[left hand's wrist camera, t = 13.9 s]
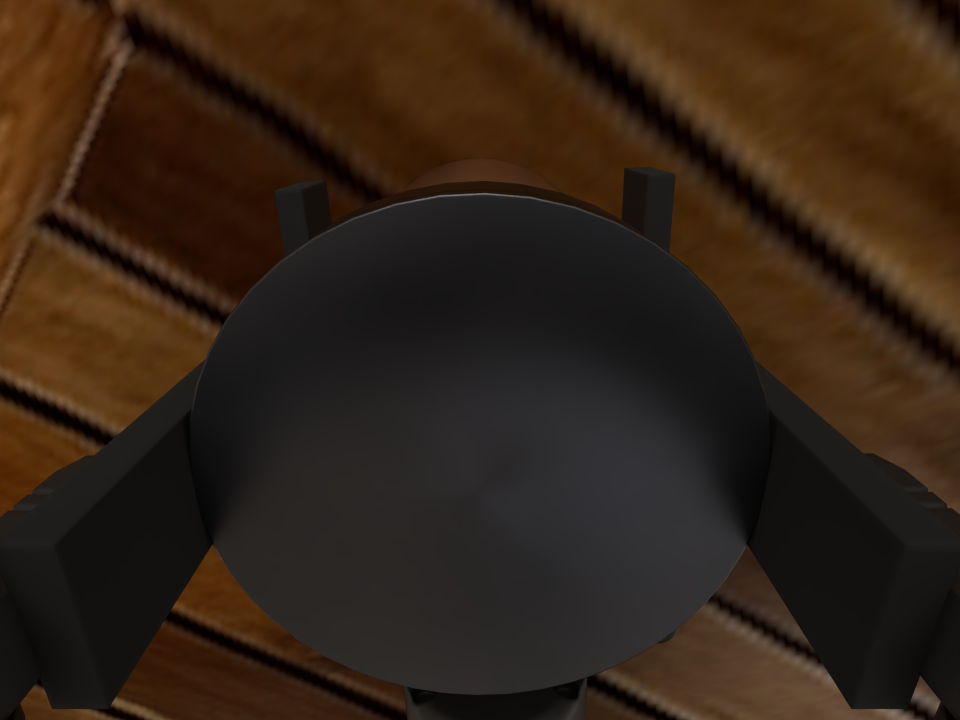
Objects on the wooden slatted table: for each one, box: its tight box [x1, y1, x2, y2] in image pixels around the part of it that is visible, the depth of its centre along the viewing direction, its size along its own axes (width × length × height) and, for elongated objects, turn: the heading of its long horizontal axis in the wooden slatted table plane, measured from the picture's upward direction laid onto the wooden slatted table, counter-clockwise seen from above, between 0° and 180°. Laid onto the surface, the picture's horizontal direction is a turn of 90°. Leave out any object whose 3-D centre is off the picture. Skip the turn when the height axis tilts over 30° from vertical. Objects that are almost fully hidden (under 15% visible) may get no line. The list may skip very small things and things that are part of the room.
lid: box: [189, 181, 771, 695], centre depth 11 cm, size 10×10×2 cm
